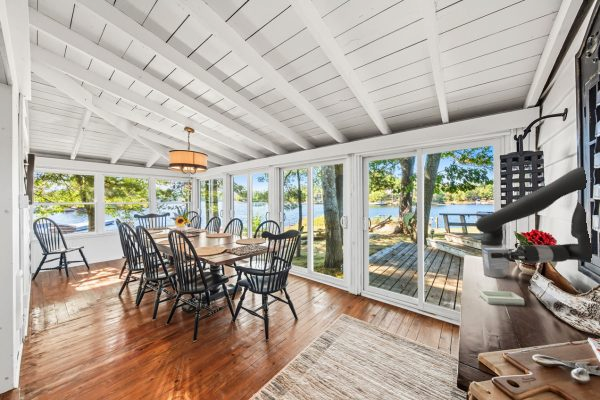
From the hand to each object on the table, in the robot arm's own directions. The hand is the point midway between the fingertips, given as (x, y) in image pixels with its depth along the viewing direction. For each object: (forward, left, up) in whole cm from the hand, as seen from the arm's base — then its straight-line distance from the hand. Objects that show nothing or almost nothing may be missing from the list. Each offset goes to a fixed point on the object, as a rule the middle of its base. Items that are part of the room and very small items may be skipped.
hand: (488, 254), depth 107 cm
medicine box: (0, +3, -6) cm, 7 cm away
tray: (+9, -1, -18) cm, 20 cm away
